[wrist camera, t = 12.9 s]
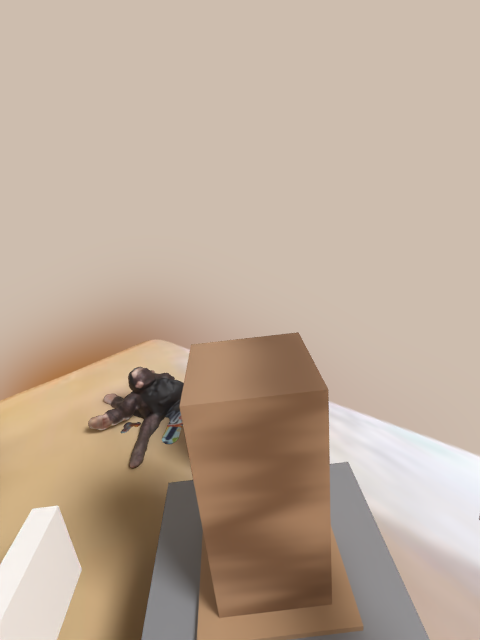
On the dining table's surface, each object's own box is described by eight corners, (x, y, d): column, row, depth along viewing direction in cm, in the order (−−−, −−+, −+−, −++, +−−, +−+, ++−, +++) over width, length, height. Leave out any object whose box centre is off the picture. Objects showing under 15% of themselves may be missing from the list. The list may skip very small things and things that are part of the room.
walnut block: (219, 618, 16) (179, 406, 12) (219, 519, 21) (191, 344, 17) (331, 604, 16) (328, 389, 12) (306, 509, 21) (298, 332, 17)
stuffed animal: (166, 367, 49) (194, 342, 39) (193, 437, 47) (229, 429, 37) (75, 400, 43) (79, 380, 33) (102, 481, 41) (115, 486, 31)
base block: (149, 809, 15) (120, 739, 13) (180, 537, 26) (167, 479, 24) (444, 771, 15) (459, 697, 13) (347, 517, 26) (348, 458, 24)
